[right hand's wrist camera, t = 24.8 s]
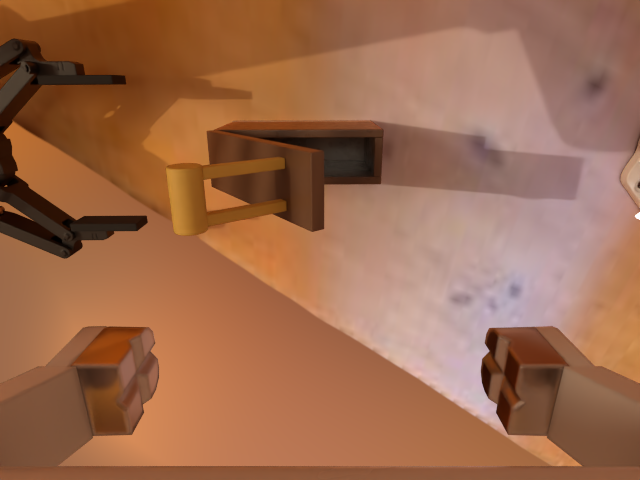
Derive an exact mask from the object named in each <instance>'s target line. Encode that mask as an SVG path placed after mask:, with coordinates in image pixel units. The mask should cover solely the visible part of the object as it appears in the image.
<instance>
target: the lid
mask: <svg viewBox="0 0 640 480" xmlns="http://www.w3.org/2000/svg"><path fill="white" fill-rule="evenodd" d="M207 140H208V150H209V161H210V165H204V166H202V165H200V164H196V163H181V164H173V165H169V166H167V167H166V176H167V183H168V191H169V199H170V206H171V214H172V222H173V229H174V233H175V234H177V235H182V236H191V235H198V234H201V233H204V232H206V231H207V230H208V226H213V225H218V224H223V223H228V222H233V221H238V220H243V219H248V218H253V217H258V216H263V215H268V214H274V215H276V216H278V217H280V218H283V219H285V220H287V221H289V222H291V223H294V224H296V225H298V226H300V227H303V228H305V229H307V230H309V231H311V232H313V231H318V230H322V229H324V151H321V150H316V149H311V148H306V147H300V146H295V145H290V144H285V143H280V142H275V141H270V140H264V139H259V138H254V137H249V136H244V135H239V134H233V133H228V132H223V131H218V130H212V131H207ZM205 179H211V183H212V187H214V188H216V189H218V190H220V191H223V192H225V193H227V194H229V195H232V196H234V197H236V198H238V199H240V200H243V201H245V202H247V203H249V204H250V205H245V206H239V207H234V208H228V209H222V210H217V211H211V212H207V211H206V201H205V191H204V181H203V180H205Z"/></svg>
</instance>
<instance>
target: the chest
mask: <svg viewBox="0 0 640 480" xmlns="http://www.w3.org/2000/svg"><path fill="white" fill-rule="evenodd" d="M215 130H218V131H223V132H228V133H233V134H239V135H244V136H249V137H254V138H259V139H264V140H270V141H275V142H280V143H285V144H290V145H295V146H300V147H306V148H311V149H316V150H321V151H324V184H381V169H382V148H383V129H382V128H380V127H379V126H377V125H376V124H374V123H373V122H372V121H371V120H344V121H233V122H232V123H229V124H227V125H224V126H222V127H220V128H217V129H215Z"/></svg>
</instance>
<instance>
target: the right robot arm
mask: <svg viewBox="0 0 640 480" xmlns="http://www.w3.org/2000/svg"><path fill="white" fill-rule="evenodd" d="M620 180H621V183H622V185H623V186H624V188H625V189H626V190H627V192H628V193H629V195H630V196H631V197H632V199H633V200H634V202H635V203H636V204H637V206H638V207H639V209H640V185H639V186H638V187H637V185H638V183H639V182H640V139H639V142H638V146H637V149H636V151H635V154H634V155H633V156H632V158H631V159H630V161H629V162H628V163H627V165H626V166H625V168H624V170H623V172H622V174H621V178H620ZM636 218H638V219H640V213H639V214H637V215H636ZM154 344H155V340H154V335H153V331H152V330H151V329H150V328H149V327H106V326H97V327H85V328H82V330H81V331H80V332H79V333H78V334H77V335H76V336H75V337H74V338H73V339H72V340H71V341H70V342H69V343H68V344H67V345H66V346H65V347H64V348H63V349H62V350H61V351H60V352H59V353H58V354H57V355H56V356H55V357H54V358H53V359H52V360H51V361H50V362H49V363H48V364H47V365H46V366H44V367H36V368H34V369H31V370H29V371H27V372H25V373H23V374H20V375H18V376H16V377H14V378H12V379H9V380H7V381H5V382H3V383H1V384H0V480H640V384H639V383H637V382H635V381H633V380H631V379H628V378H626V377H624V376H622V375H620V374H617V373H615V372H613V371H611V370H609V369H606V368H604V367H597V366H594V365H593V364H592V363H591V362H590V361H589V360H588V359H587V358H586V357H585V356H584V355H583V354H582V353H581V352H580V351H579V350H578V349H577V348H576V347H575V346H574V345H573V344H572V343H571V342H570V341H569V340H568V338H567V337H566V336H565V335H564V334H563V333H562V332H561V331H560V330H559V329H558V328H555V327H553V326H543V327H512V328H489V330H488V332H487V334H486V339H485V344H486V346H487V347H488V349H489V353H488V354H487V355H486V356H485V357H484V358H483V359H482V366H481V377H482V384H483V387H484V390H485V393H486V394H487V396H488V398H489V399H490V400H491V401H493V402H494V403H496V404H497V410H496V413H497V415H498V417H499V419H500V421H501V422H502V424H503V426H504V428H505V430H506V432H507V433H508V435H532V436H547V438H548V439H549V440H551V441H552V442H553V443H554V444H556V445H557V446H558V447H559V448H561V449H562V450H563V451H564V452H566V453H567V454H568V455H569V456H571V457H572V458H573V459H574V460H576V461H577V462H578V463H580V464H581V465H582V466H58V465H59V464H61V463H62V462H63V461H64V460H66V459H67V458H68V457H69V456H71V455H72V454H73V453H74V452H76V451H77V450H78V449H79V448H81V447H82V446H83V445H85V444H86V443H87V442H88V441H90V440H91V439H92V438H93V436H107V435H132V433H133V432H134V430H135V428H136V426H137V424H138V422H139V420H140V419H141V417H142V415H143V413H144V410H143V404H144V403H146V402H147V401H149V400H150V399H151V398H152V396H153V394H154V392H155V390H156V387H157V383H158V379H159V365H158V359H157V358H156V357H155V356H154V355H153V354H152V353H151V349H152V347H153V346H154Z"/></svg>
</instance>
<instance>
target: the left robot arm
mask: <svg viewBox="0 0 640 480" xmlns="http://www.w3.org/2000/svg"><path fill="white" fill-rule="evenodd" d="M40 52H41V48H40V46H39V45H38V43H36V42H33V41H27V40H21V39H11V40H10V41H8V42H7V43H5V44H3V45H2V46H0V79H1V78H2V77H4V76H6V75H7V74H9V73H10V72H12V71H14V70H15V69H17V68H18V67H19V68H18V70H17V71H16V72H15V73H14V74H13V75H12V77H11V78H10V79H9V80H8V81H7V83H6V84H5V85H4V86H3V87H2V88H1V90H0V201H1V202H6V203H8V204H10V205H11V206H13V207H14V208H16V209H17V210H19V211H20V212H22V213H23V214H25V215H26V216H28V217H29V218H31V219H32V220H34V221H32V220H30V219H27V218H25V217H23V216H20V215H18V214H15V213H12V212H8V211H5V209H4V207H2V206H0V232H1V233H3V234H5V235H8V236H10V237H13V238H15V239H18V240H20V241H22V242H25V243H27V244H30V245H32V246H35V247H37V248H40V249H42V250H44V251H47V252H49V253H52V254H54V255H57V256H59V257H61V258H68V257H70V256H71V255H73V254H74V253H76V252H77V251H78V250H80V249H81V248H82V243H81V240H104V239H107V238H109V237H110V236H111V235H113V234H114V231H138V230H139V229H140V228H141V227H143V226H144V225H145V224H147V216H84V217H82V218H80V219H78V220H75V219H74V218H72V217H71V216H69V215H68V214H66V213H65V212H64V211H62V210H61V209H59V208H58V207H56V206H55V205H53V204H52V203H50V202H49V201H47V200H46V199H45V198H43V197H42V196H40V195H39V194H37V193H36V192H34V191H33V190H31V189H30V188H29V187H28V184H27V183H26V182H25V181H23V180H22V179H20V178H19V177H17V176H16V175H15V171H18V169H17V165H16V162H15V160H14V158H13V156H12V145H11V141H10V139H7V138H6V136H5V135H4V134H3V133H4V131H5V130H6V129H7V128H8V127H9V126H10V125H11V123H12V122H13V121H12V119H13V118H14V116H15V115H16V114H17V113H18V112H19V111H20V110H21V108H22V107H23V106H24V105H25V104H26V103H27V102H28V101H29V99H30V98H31V97H32V96H33V95H34V94H35V93H36V91H37V90H38V89H39V88H40V87H41V86H42V85H98V84H126V80H125V76H121V75H85V72H84V67H83V64H80V63H78V62H70V61H49V62H48V61H46V60H45V59H44V58H43V57H42V55H41V53H40ZM5 185H7V187H4V186H5Z"/></svg>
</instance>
